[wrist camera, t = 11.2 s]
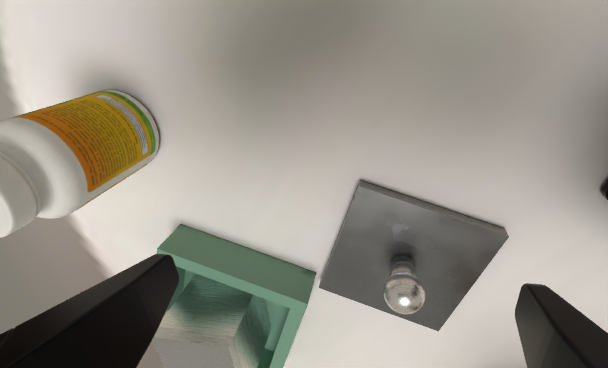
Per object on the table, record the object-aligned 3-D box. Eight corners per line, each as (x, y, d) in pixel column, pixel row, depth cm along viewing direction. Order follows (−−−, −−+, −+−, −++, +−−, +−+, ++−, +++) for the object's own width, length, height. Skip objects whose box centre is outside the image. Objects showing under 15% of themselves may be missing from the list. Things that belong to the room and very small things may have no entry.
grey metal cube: (271, 328, 28) (244, 402, 23) (211, 321, 29) (173, 388, 24) (260, 278, 25) (228, 347, 20) (195, 272, 27) (149, 336, 22)
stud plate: (504, 228, 20) (532, 281, 16) (436, 321, 24) (445, 380, 20) (360, 180, 20) (353, 219, 17) (320, 279, 25) (308, 328, 21)
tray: (316, 273, 25) (307, 304, 22) (284, 356, 30) (274, 388, 28) (180, 224, 25) (157, 248, 23) (174, 314, 31) (154, 341, 28)
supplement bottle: (104, 70, 21) (-88, 112, 12) (174, 126, 22) (38, 201, 13) (81, 131, 23) (-90, 200, 15) (144, 178, 24) (14, 269, 16)
